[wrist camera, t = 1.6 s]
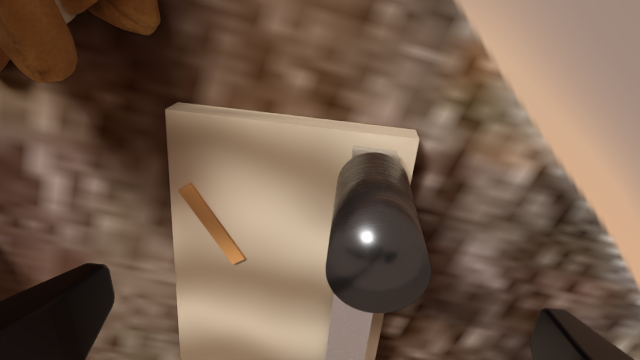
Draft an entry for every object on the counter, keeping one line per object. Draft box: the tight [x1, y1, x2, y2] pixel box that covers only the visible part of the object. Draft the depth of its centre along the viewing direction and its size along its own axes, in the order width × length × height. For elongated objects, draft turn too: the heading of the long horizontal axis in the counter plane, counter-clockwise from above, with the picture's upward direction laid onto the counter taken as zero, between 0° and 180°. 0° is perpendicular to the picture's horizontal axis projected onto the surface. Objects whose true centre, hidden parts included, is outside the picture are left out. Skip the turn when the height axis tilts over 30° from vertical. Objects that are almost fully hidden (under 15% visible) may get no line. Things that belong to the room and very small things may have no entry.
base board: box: [165, 102, 419, 360], centre depth 24 cm, size 20×12×2 cm, turn 175°
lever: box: [324, 145, 431, 360], centre depth 19 cm, size 19×4×8 cm, turn 175°
